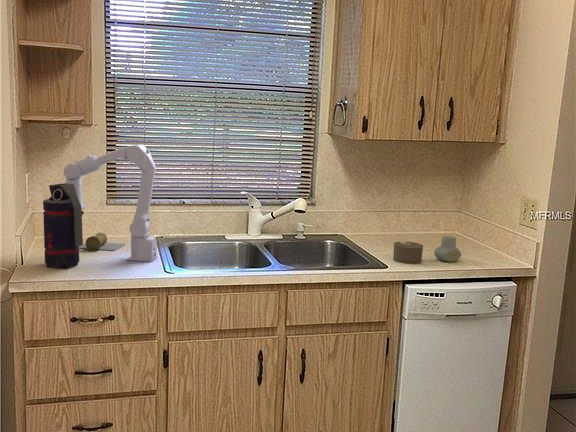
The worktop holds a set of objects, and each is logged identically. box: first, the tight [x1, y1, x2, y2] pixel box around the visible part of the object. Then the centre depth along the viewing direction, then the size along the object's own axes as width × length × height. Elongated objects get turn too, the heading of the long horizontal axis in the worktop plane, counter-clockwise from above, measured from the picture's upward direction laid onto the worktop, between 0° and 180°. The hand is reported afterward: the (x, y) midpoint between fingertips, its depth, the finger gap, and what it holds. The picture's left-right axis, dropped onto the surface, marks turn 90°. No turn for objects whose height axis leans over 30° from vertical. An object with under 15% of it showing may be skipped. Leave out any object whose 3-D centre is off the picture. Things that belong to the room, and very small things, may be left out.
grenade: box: [42, 182, 84, 270], centre depth 219 cm, size 14×12×30 cm
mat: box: [79, 242, 126, 252], centre depth 253 cm, size 16×12×1 cm
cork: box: [85, 232, 108, 252], centre depth 250 cm, size 6×6×11 cm
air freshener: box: [433, 235, 462, 263], centre depth 255 cm, size 11×8×10 cm
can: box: [392, 241, 424, 265], centre depth 252 cm, size 12×12×7 cm
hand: (74, 229), depth 234 cm, fingers closed
